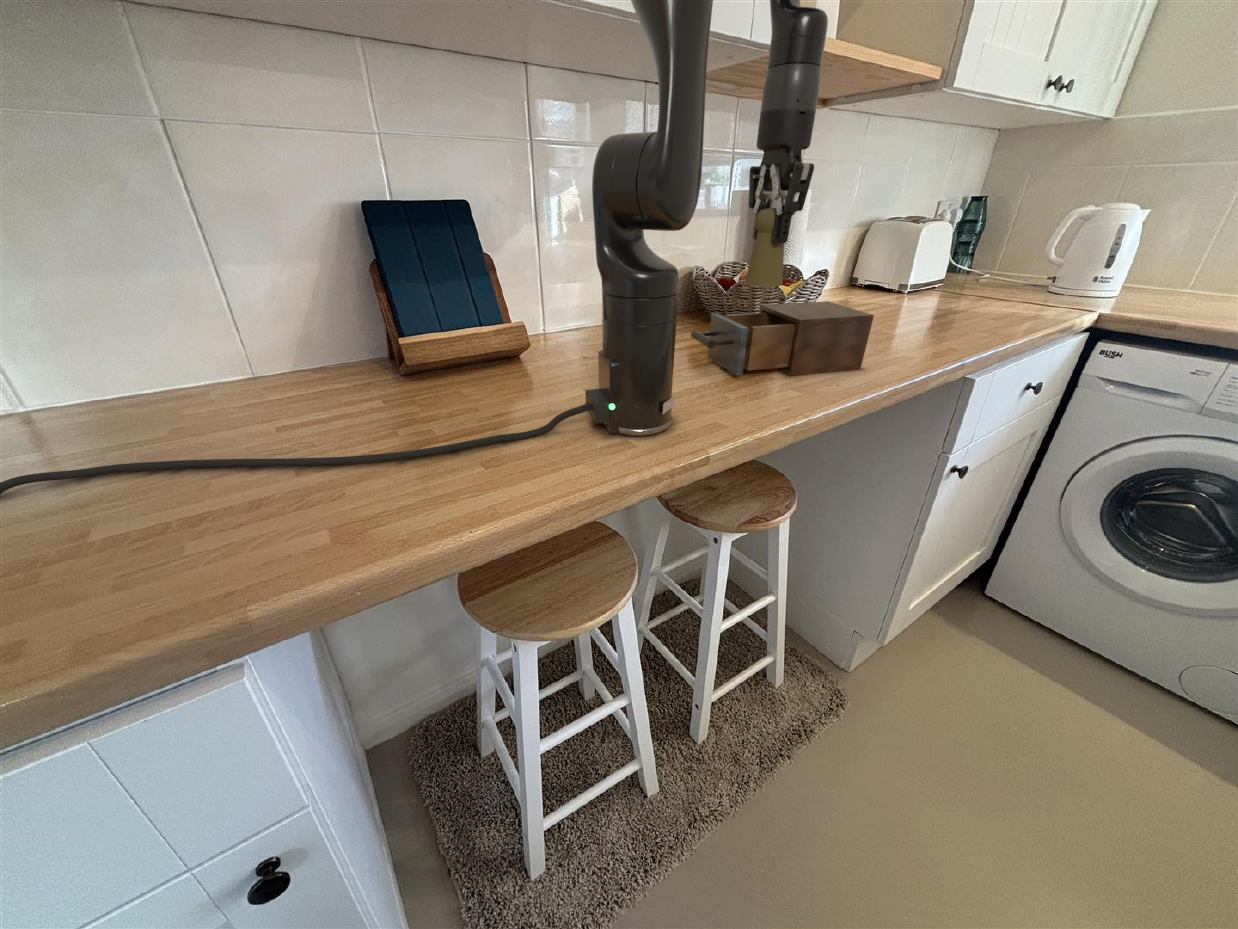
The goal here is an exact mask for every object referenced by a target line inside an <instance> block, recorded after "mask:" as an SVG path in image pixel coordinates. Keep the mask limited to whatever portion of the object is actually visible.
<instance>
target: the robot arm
mask: <svg viewBox="0 0 1238 929" xmlns="http://www.w3.org/2000/svg"><path fill="white" fill-rule="evenodd" d="M630 2H631V5H632V8H633V10H634V12H635V15H636V17H637V19H638V21H639V23H640V26H641V28H642V30H643V34H644V35H645V37H646V40H647V42H648V45H649V47H650V50H651V54H652V57H653V61H654V65H655V68H656V75H657V82H658V118H657V119H658V120H657V129H656V131H648V132H646V131H645V132H631V133H619V134H613V135H610V136H609V137H607V138H605V139H604V140H603V141H602V143H601V144H600V146H599V147H598V150H597V152H596V155H595V160H594V163H593V169H592V178H591V180H592V181H591V194H592V195H591V197H592V210H593V211H592V213H593V225H594V226H593V227H594V229H593V230H594V245H595V259H596V260H595V261H596V266H597V269H598V273H599V276H600V279H601V309H602V312H601V318H602V319H601V321H602V322H601V325H602V327H601V328H602V330H601V332H602V349H600V350H599V351H598V356H597V358H598V388H594V389H593V388H592V389H585V403H584V404H582V405H579V406H576V407H572V408H569V409H567V410H564V411H563V412H561V413H559V414H557V415H555V416H554V417H553V418H552V419H551V420H550V421H549V422H548V423H546V424H544V425H543V426H541V427H538V428H534V429H531V430H528V431H522V432H521V431H520V432H515V433H505V434H498V435H492V436H491V435H490V436H487V437H481V438H476V439H471V440H466V441H460V442H457V443H449V444H445V445H439V446H432V447H426V448H425V447H424V448H419V449H411V450H405V451H395V452H386V453H376V454H375V453H374V454H364V455H363V454H362V455H353V456H352V455H351V456H349V455H348V456H328V457H326V456H325V457H295V458H293V457H291V458H224V459H223V458H219V459H218V458H217V459H216V458H215V459H213V458H211V459H210V458H209V459H182V460H179V459H178V460H163V461H162V460H161V461H147V462H128V463H118V464H108V465H102V466H101V465H100V466H94V467H87V468H81V469H71V470H60V471H58V470H57V471H48V472H47V471H46V472H38V473H30V474H24V475H20V476H16V477H15V476H14V477H12V478H9V479H6V480H3V481H0V495H1V494H3V493H4V492H7V491H8V490H11V489H13V488H16V487H19V486H22V485H28V484H33V483H41V482H51V481H62V480H72V479H80V478H88V477H95V476H102V475H109V474H115V473H116V474H117V473H127V472H128V473H129V472H140V471H141V472H143V471H160V470H175V469H176V470H179V469H204V468H205V469H206V468H207V469H208V468H209V469H210V468H261V467H262V468H265V467H266V468H269V467H272V468H273V467H274V468H275V467H276V468H279V467H281V468H282V467H283V468H285V467H316V466H317V467H318V466H341V465H343V466H344V465H357V464H371V463H372V464H373V463H381V462H382V463H383V462H391V461H401V460H408V459H409V460H410V459H416V458H424V457H430V456H435V455H442V454H447V453H454V452H458V451H463V450H468V449H472V448H477V447H482V446H486V445H493V444H497V443H505V442H513V441H521V440H526V439H532V438H536V437H539V436H541V435H544V434H546V433H549V432H550V431H552V430H553V429H555V427H556V426H558V424H560V423H561V422H563V421H564V420H566V419H568V418H571V417H573V416H576V415H580V414H582V413H586V412H588V414H589V416H590V417H591V419H592V421H593V422H594V424H602V425H603V426H604V427H605V429H606V430H607V432H608V433H609V435H618V434H619V435H624V436H631V437H634V436H635V437H636V436H637V437H641V436H643V437H644V436H645V437H646V436H651V435H657V434H660V433H662V432H664V431H666V430H668V429H669V428H670V426H671V424H672V408H673V407H674V406H675V402H676V394H673V383H674V370H675V368H674V366H675V352H676V351H675V349H676V335H677V333H676V332H677V317H678V303H679V286H680V272H679V269H678V268H677V267H676V266H675V265H674V264H673V263H671V262H669V261H668V260H665V259H664V258H662V257H661V256H659V255H658V254H656V253H655V252H654V251H653V249H651V247H650V246H649V245H648V244H647V242H646V239H645V232H644V231H659V232H660V231H661V232H677V231H681V230H683V229H685V228H686V227H687V226H688V225H689V224H690V222H691V220H692V218H693V217H694V215H695V211H696V209H697V206H698V202H699V199H700V198H699V197H700V191H701V185H702V176H703V164H704V163H703V160H704V142H705V141H704V140H705V139H704V138H705V117H706V116H705V114H706V89H707V88H706V86H707V71H708V70H707V69H708V56H709V46H710V44H709V43H710V35H711V26H712V24H711V23H712V14H713V5H714V0H630ZM769 8H770V10H769V11H770V23H771V38H770V46H769V54H768V63H767V70H766V76H765V80H764V85H763V88H762V96H761V104H760V112H759V121H758V128H757V138H756V147H757V149H758V150H760V151H762V152H763V155H762V159H761V162H760V165H757V166H755V165H752V166H750V168H749V179H748V180H749V182H748V183H749V184H748V185H749V186H748V208H749V209H752V210H753V213H754V214H755V219H756V216H757V214H758V212H759V211H761V210H763V209H767V208H773V206H774V202H775V206H776V207H775V208H776V209H777V215H779V216H776V217H775V224H774V231H773V238H772V241H773V243H784V244H786V243H787V242H788V238H789V236H790V235H789V234H790V228H791V221H792V217H793V216H794V215H795V213H796V212H802V211H803V209H804V206H805V203H806V198H807V195H808V192H809V188H810V186H811V185H810V184H811V182H812V178H813V174H814V170H815V164H814V163H813V162H812V163H809V162H803V158H802V157H803V156H802V152H803V150H807V149H809V148H810V147H811V143H812V137H813V131H814V125H815V119H816V113H817V106H818V100H819V94H820V86H821V72H822V71H821V70H822V64H823V57H824V53H825V52H824V51H825V44H826V40H827V33H828V25H829V19H828V15H827V13H826V11H824V10H823V9H821V8H818V7H813V6H802V5H801V1H800V0H769ZM797 196H798V197H797ZM796 197H797V200H796ZM784 200H785V201H784ZM755 219H754V220H755ZM757 232H758V231H757V229H756V227H755V225H753V233H752V234H753V235H752V238H753V240H754V241H755V240H756V236H757Z"/></svg>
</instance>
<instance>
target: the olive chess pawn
mask: <svg viewBox="0 0 1238 929" xmlns="http://www.w3.org/2000/svg"><path fill="white" fill-rule="evenodd" d="M776 216H779V215H777V209H776V207H772V208H767V209H763V210H761V211H759V212H758V214H757V216H756V215H755V218H756V219H754V226H755V227H756V229H757V231H758V232H757V236H756V240H755V239H754V246H753V249H752V253H751V256H750V261H749V265H748V269H747V273H746V276H745V281H744V284H745V285H747V286H752V287H762V288H763V287H764V288H775V287H782V286H783V283H784V282H783V280H784V250H785V243H773V241H772V238H773V231H774V224H775V217H776Z"/></svg>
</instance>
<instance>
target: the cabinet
mask: <svg viewBox="0 0 1238 929" xmlns="http://www.w3.org/2000/svg"><path fill="white" fill-rule="evenodd" d="M764 312H768V313H771V314H774V315H776V316H779V317H781V318H784V319H786V320H789V321H791V322H794V323H796V324H797V325H796V330H795V336H794V341H793V347H792V352H791V358H790V364H789V367H782V368H776V369H777V370H779V371H780V372H782V373H784V374H785V375H787V376H789V377H795V376H803V375H814V374H825V373H836V372H847V371H855V370H861V368H862V365H863V361H864V357H865V352H866V349H867V345H868V341H869V337H870V333H871V329H872V325H873V321H874V317H875V315H874V314H871V313H867V312H865V311H862V310H858V309H855V308H852V307H848V306H845V305H841V304H838V303H835V302H832V301H829V300H827V301H825V300H824V301H808V302H807V301H806V302H792V303H791V302H790V303H769V304H761V305H760V308H759V313H764Z"/></svg>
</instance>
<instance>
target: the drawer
mask: <svg viewBox="0 0 1238 929" xmlns="http://www.w3.org/2000/svg"><path fill="white" fill-rule="evenodd" d="M710 315H711V316H710V324H709V331H702V332H700V331H698V330H696V329H695V330H692V332H691V333H690V336H691V338H692V339H694V340H695V341H696V342H698V343H700V344H701V345H703V346H705V347H706V348H707V357H709V358H710V359H711V360H713V361H714V362H716V363H718V364H720V365H721V366H722V367H723V368H725V369H727V370H728V371H730V372H731V373H733V374H734V375H737V376H738V375H743V373H744V369H745V371H749V372H750V371H758V370H769V369H771V370H772V369H777V368H782V367H789V364H790V358H791V352H792V347H793V341H794V336H795V330H796V325H797V324H796V323H794V322H791V321H789V320H786V319H784V318H781V317H779V316H776V315H774V314H771V313H768V312H764V313H760V312H750V313H749V312H748V313H731V314H725V316H724V315H722V314H720V313H717V312H714V313H711V314H710Z"/></svg>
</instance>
